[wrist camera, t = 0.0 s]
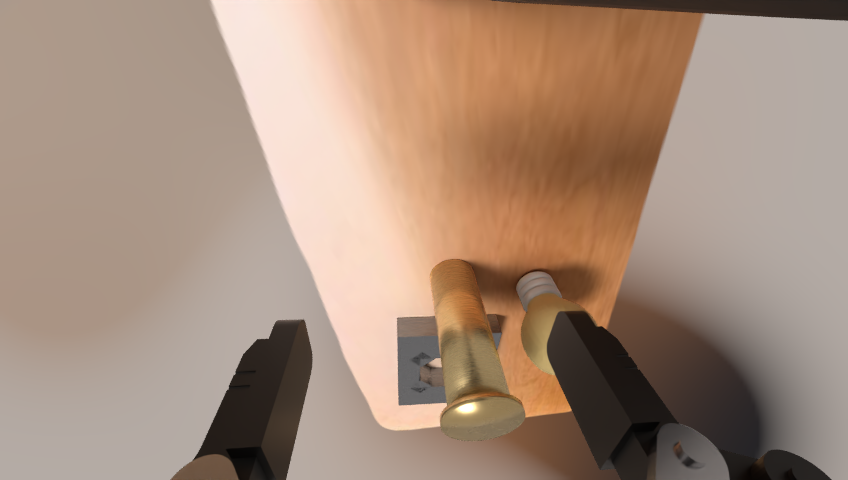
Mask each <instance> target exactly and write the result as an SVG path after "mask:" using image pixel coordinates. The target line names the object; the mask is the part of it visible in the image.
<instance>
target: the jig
mask: <svg viewBox="0 0 848 480" xmlns="http://www.w3.org/2000/svg"><path fill="white" fill-rule="evenodd" d="M487 318H488V322H489V325H490V328H491V332H492V335H493V339H494V342H495V345H496V349H497V348H498V345H499V341H500V338H501V334H502V332H501V329H500V326H499V323H498V319H497V316H496V314H495V315H487ZM397 335H398V395H399V405H415V404H432V403H447V401H446V394H445V387H444V379H443V372H442V368H430V367H428V366H426V364H427V363H429V362H431V361H432V360H434V359H435V358H441V357H440V349H439V342H438V334H437V327H436V320H435V317H414V318H397Z"/></svg>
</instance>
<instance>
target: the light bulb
mask: <svg viewBox="0 0 848 480" xmlns="http://www.w3.org/2000/svg"><path fill="white" fill-rule="evenodd" d="M516 290H517V293H518V295H519V298H520V300H521V303H522V305H523V308H524V310H525V311H526V314H525V317H524V320H523V323H522V327H521V340H522V344H523V347H524V350H525V352H526V354H527V355H528V357H529V358H530V360H531V361H532V362H533V363H534V364H535V365H536V366H537V367H538V368H539V369H540V370H542V371H544V372H545V373H548V374H551V375H555V373H554V371H553V369H552V366H551V364H550V362H549V359H548V356H547V341H548V338H549V335H550V332H551V330H552V327H553V324H554V321H555V318H556V315H557V313H558V312H560V311H580V310H583V311H585V312H586V313H588V312H587V311H586V310H585V309H584V308H582V307H581V306H579V305H578V304H576V303H574V302H571V301H569V300H566V299H563V298H562V295H561V293H560V291H559V290H558V288H557V286H556V284H555V283H554V281H553V279H552V277H551V276H550V275H549V274H547V273H545V272H540V271H537V272H531V273H528V274H526V275H525V276H523V277H522V278H521V279H520V280H519V282H518V283H517V287H516ZM588 315H589V316H590V318H591V319H592V321H593V322H594V323H595V325H596V326H597V324H596V322H595V320H594V319H593V317H592V316H591V315H590V314H589V313H588ZM597 327H598V326H597Z"/></svg>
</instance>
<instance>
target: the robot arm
mask: <svg viewBox="0 0 848 480" xmlns="http://www.w3.org/2000/svg"><path fill="white" fill-rule="evenodd" d="M492 1H502V2H515V3H533V4H552V5H570V6H588V7H606V8H623V9H641V10H658V11H675V12H692V13H709V14H711V13H712V14H728V15H745V16H763V17H764V16H765V17H784V18H805V19H825V20H847V21H848V0H492ZM547 356H548V359H549V362H550V364H551V366H552V369H553V371H554V373H555V375H556V377H557V379H558V381H559V384H560V386H561V388H562V390H563V392H564V394H565V396H566V399H567V401H568V403H569V405H570V407H571V409H572V411H573V413H574V416H575V418H576V420H577V422H578V424H579V426H580V428H581V431H582V433H583V435H584V437H585V439H586V441H587V443H588V445H589V448H590V449H591V452H592V454H593V456H594V458H595V460H596V462H597V465H598V467H599V469H600V470H605V469H616V471H617V473H618V475H619V477H620V480H831V479H830V478H829V477H828V476H827V475H826V474H825V473H824V472H823V471H821V470H820V469H819V468H817V467H816V466H815V465H813V464H812V463H810V462H809V461H807V460H805V459H803V458H802V457H800V456H798V455H795V454H793V453H790V452H787V451H783V450H771V451H768V452H767V453H766V454H764V455H763V456H762V457H761V458H760V459H755V458H751V457H748V456H744V455H740V454H736V453H732V452H728V451H725V450H721V449H718V448H716V447H715V446H714V445H713V444H712V443H711V442H710V441H709V440H708V439H707V438H705V437H704V436H703V435H701V434H700V433H698V432H697V431H695V430H693V429H691V428H689V427H687V426H685V425H681V424H679V423H678V422H677V421H676V419H675V418H674V417H673V415H672V414H671V413H670V411H669V410H668V408H667V407H666V406H665V404H664V403H663V401H662V400H661V399H660V397H659V396H658V394H657V393H656V392H655V390H654V389H653V388H652V386H651V385H650V383H649V382H648V381H647V379H646V378H645V377H644V376H643V374H642V373H641V371H640V370H638V369H637V365H636V364H635V363H634V361H633V360H632V358H631V357H629V356H628V353H627V352H626V350H625V349H624V347H623V346H622V345H621V343H620V342H619V341H618V339H617V338H616V337H614V336H613V335H612V334H611V333H609V332H608V331H607V330H606V329H605V328H603V327H602V326H601V327H597V326H596V325H595V323H594V322H593V321H592V319H591V318H590V316H589V315H588V313H586V312H585V311H583V310H580V311H560V312H558V313H557V315H556V318H555V321H554V324H553V327H552V330H551V332H550V335H549V338H548V341H547ZM311 370H312V350H311V346H310V342H309V337H308V332H307V328H306V324H305V321H304V320H278V321H276V323H275V325H274V327H273V329H272V332H271V334H270V337H269V339H257V340H256V341H255V342H254V343H253V345H252V346H251V347H250V348H249V349H248V350H247V351H246V352H245V353H244V354H243V356H242V358H241V361H240V363H239V365H238V367H237V369H236V374H235V375H234V376H233V378H232V381H231V383H230V385H229V390H227V391H226V394H225V396H224V398H223V400H222V402H221V405H220V407H219V409H218V411H217V413H216V416H215V418H214V420H213V423H212V424H211V427H210V429H209V431H208V433H207V435H206V438H205V440H204V442H203V445H202V446H201V448H200V450H199V452H198V454H197V455H196V457H195V458H194V459H193V461H192V462H190V463H188V464H187V465H186V466H184V467H183V468H182V469H181V470H179V471H178V472H177V473H176V474H175V475H174V476H173V478H172V479H171V480H286V477H287V473H288V469H289V464H290V460H291V456H292V451H293V447H294V443H295V439H296V435H297V430H298V425H299V421H300V417H301V413H302V409H303V404H304V400H305V396H306V392H307V388H308V383H309V379H310V375H311Z"/></svg>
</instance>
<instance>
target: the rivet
mask: <svg viewBox="0 0 848 480" xmlns="http://www.w3.org/2000/svg"><path fill="white" fill-rule="evenodd" d="M430 282H431V290H432V297H433V305H434V312H435V320H436V327H437V334H438V342H439V349H440V357H441V364H442V372H443V379H444V387H445V394H446V401H447V407H446V408H445V409H444V410H443V411H442V413H441V415H440V425H441V430H442V432H443V433H444V434H445V435H447V436H449V437H451V438H454V439H457V440H464V441H479V440H487V439H492V438H496V437H499V436H502V435H505V434H507V433H509V432H511V431H513V430H514V429H516V428H517V427H519V426H520V424H522V422H523V421H524V419H525V411H524V408H523V404H522V402H521V401H520V400H519V399H518V398H516V397H514V396H512V395H510V393H509V390H508V386H507V383H506V379H505V376H504V373H503V369H502V366H501V362H500V359H499V356H498V352H497V349H496V345H495V342H494V339H493V335H492V332H491V328H490V325H489V322H488V318H487V315H486V311H485V308H484V305H483V301H482V298H481V294H480V291H479V288H478V284H477V281H476V278H475V274H474V271H473V268H472V267H471V265H470V264H469V263H467V262H465V261H463V260H458V259H451V260H446V261H443V262H441V263H439V264H438V265H436V266H435V267H434V268H433V270H432V272H431V274H430Z"/></svg>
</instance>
